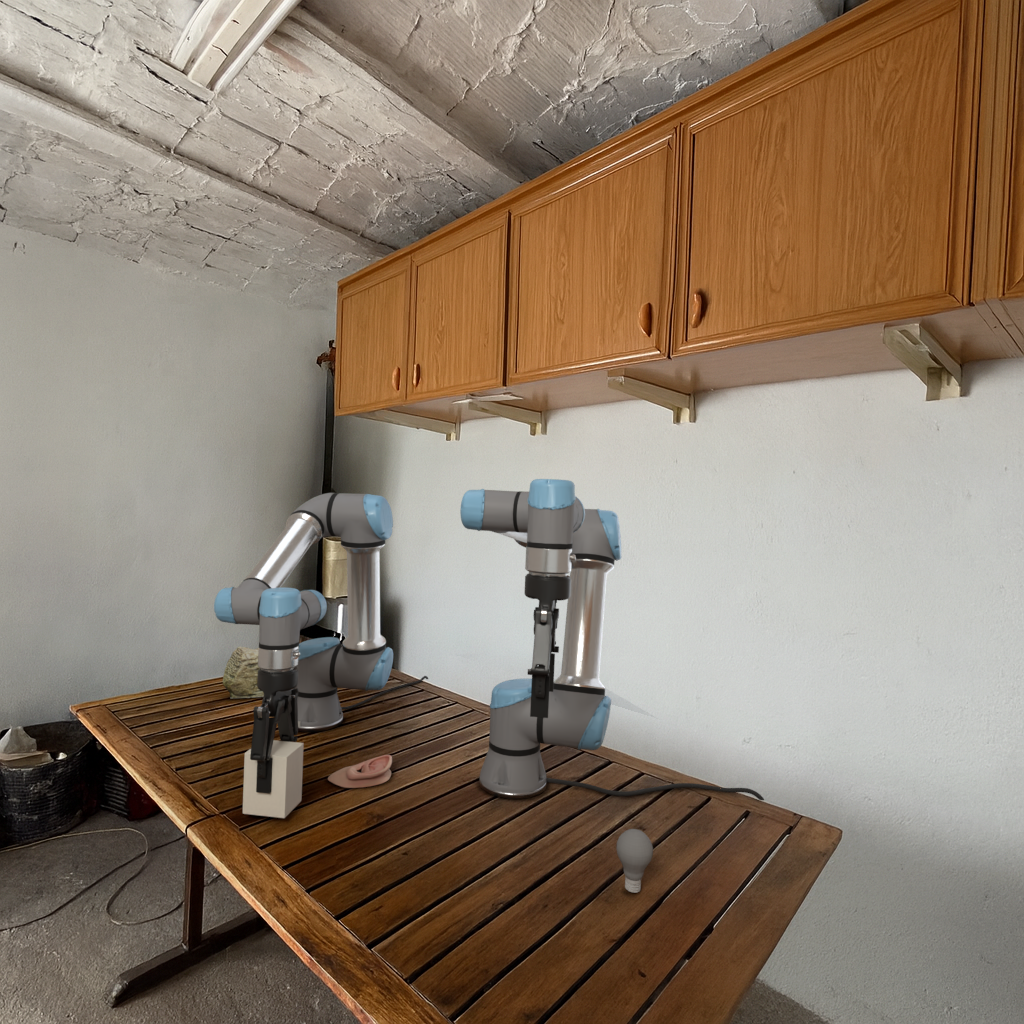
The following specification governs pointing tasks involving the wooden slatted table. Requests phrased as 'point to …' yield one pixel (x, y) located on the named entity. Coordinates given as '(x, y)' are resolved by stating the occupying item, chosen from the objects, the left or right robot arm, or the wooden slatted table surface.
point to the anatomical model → (364, 773)
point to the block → (275, 781)
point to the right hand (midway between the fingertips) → (542, 703)
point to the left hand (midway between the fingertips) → (274, 782)
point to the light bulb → (634, 857)
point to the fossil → (242, 674)
